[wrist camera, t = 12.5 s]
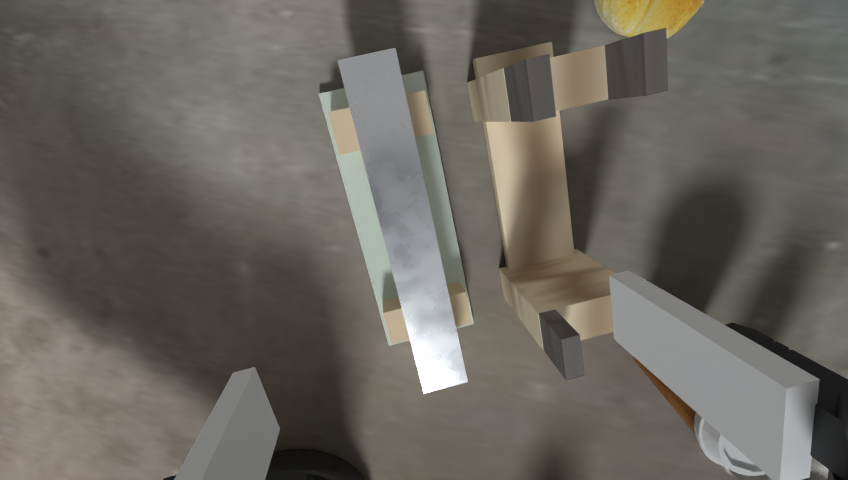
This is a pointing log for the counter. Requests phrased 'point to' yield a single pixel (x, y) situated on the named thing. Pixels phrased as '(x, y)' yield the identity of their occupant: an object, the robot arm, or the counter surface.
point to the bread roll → (646, 15)
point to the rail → (404, 213)
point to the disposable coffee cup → (706, 433)
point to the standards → (553, 179)
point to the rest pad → (367, 215)
